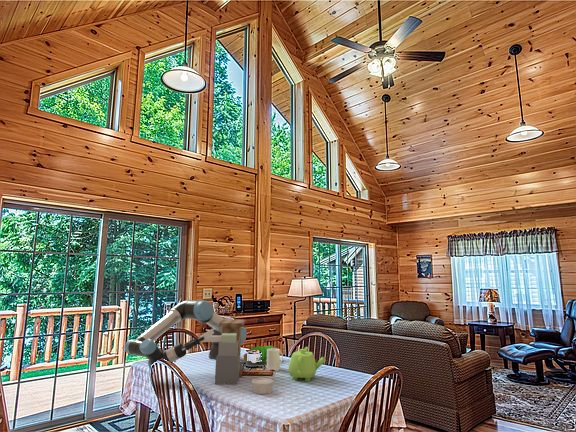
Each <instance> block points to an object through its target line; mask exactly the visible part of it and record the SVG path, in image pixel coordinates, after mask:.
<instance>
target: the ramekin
mask: <svg viewBox="0 0 576 432" xmlns="http://www.w3.org/2000/svg"><path fill="white" fill-rule="evenodd" d="M274 382H275V381H274V379H271V378H266V377H261V378H260V377H258V378H254V379H252V381H251V384H252V391H253V392H254V393H255V394H258V395H268V394H270V393H271V392H273V386H274Z"/></svg>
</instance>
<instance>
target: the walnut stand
mask: <svg viewBox="0 0 576 432" xmlns="http://www.w3.org/2000/svg"><path fill="white" fill-rule="evenodd" d="M245 323H246V319H244V318H243V319H241V318H240V319H239V318H238V319H236V318H235V319H234V318H233V319H232V318H231V319H230V318H229V319H227V318H223V320H222V321H221V322H220V323H219V327H223V329H222V333H237V340H239V342H238V353H240V354H241V349H242V347H241V345H242V344H241V327H244V325H245ZM242 371H244V365H241V364H240V365H239V378H242V375H243V372H242Z"/></svg>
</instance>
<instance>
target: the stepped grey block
mask: <svg viewBox="0 0 576 432" xmlns="http://www.w3.org/2000/svg"><path fill="white" fill-rule="evenodd" d="M238 342H239V340H237V341H236V343H221V342H219V349H218V355H217V356H216V359H215V373H214V374H215V375H214V385H238V383H239V380H240V377H239V365H240V366H241V352H240V353H238Z"/></svg>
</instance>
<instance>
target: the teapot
mask: <svg viewBox="0 0 576 432" xmlns="http://www.w3.org/2000/svg"><path fill="white" fill-rule="evenodd" d="M308 349H309V348H308V346H305V347H304V348H300V349H299V351H297V350H296V351H294V352H293V353H292V354H291V357H290V360H289V362H288V363H289V364H288V373H289V374H288V375H290V377H292V378H291V380H292V381H297V380H298V379H300V378H301V379H304V380H305V382H311V378H313V377H315V375H316V374H317V373H316V372H317V370H318V369H319V368H320V367H321V366H322V365H323V364H324V363H325V362H327V360H326V358H325V357H324V356H321V358H319V360H318V361H317V362H316V359H315V355H314V353H313V352H312V351H309V350H308Z"/></svg>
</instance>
